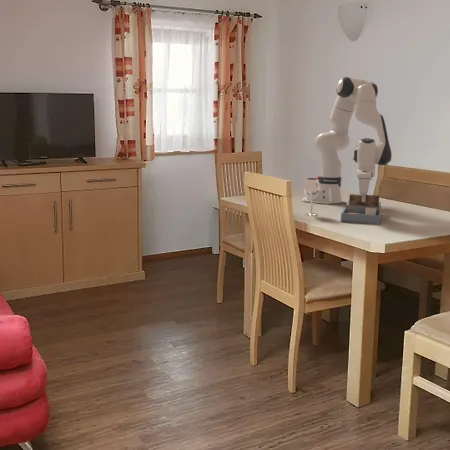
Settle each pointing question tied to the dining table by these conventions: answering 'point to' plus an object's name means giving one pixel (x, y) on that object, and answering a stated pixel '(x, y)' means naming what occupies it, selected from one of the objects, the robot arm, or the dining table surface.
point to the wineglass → (312, 191)
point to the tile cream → (370, 211)
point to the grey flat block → (362, 207)
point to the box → (360, 216)
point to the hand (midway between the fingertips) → (363, 200)
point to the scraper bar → (370, 201)
